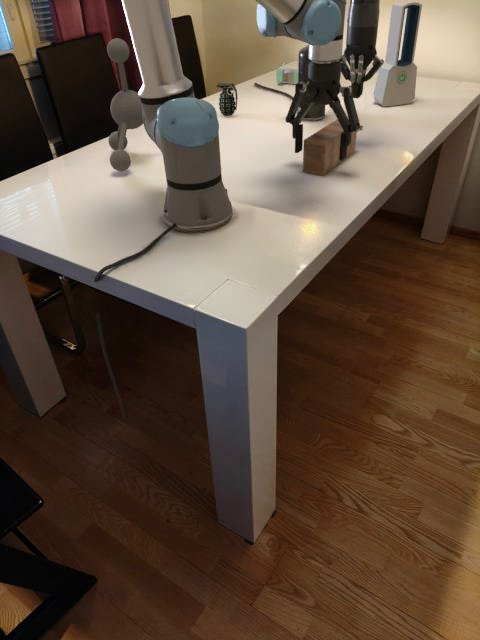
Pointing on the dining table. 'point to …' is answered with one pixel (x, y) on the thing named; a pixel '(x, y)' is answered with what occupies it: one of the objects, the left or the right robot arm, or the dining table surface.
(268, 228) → the dining table surface
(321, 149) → the brown wooden brick
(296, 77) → the decorative block
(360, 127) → the purple elongated piece
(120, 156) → the molecular model
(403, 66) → the electronic device
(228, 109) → the grenade
